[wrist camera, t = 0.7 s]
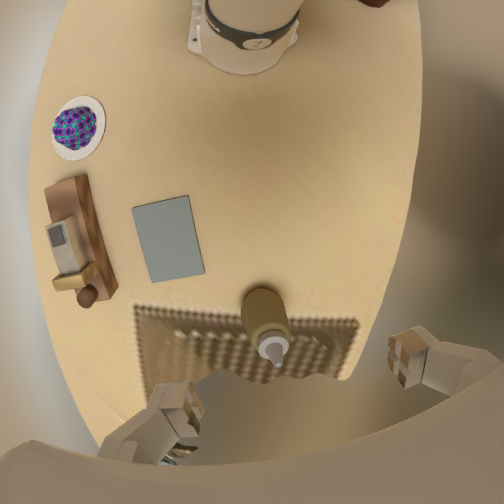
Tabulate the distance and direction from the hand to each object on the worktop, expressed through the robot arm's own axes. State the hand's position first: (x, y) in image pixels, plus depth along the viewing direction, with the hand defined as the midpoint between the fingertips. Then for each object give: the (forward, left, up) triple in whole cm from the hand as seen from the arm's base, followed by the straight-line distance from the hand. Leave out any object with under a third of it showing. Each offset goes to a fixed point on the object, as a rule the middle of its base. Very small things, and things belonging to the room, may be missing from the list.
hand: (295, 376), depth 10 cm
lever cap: (0, -28, -33) cm, 43 cm away
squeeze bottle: (+19, +2, -38) cm, 43 cm away
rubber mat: (+4, -12, -38) cm, 40 cm away
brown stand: (0, -28, -38) cm, 47 cm away
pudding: (-20, -25, -38) cm, 50 cm away
